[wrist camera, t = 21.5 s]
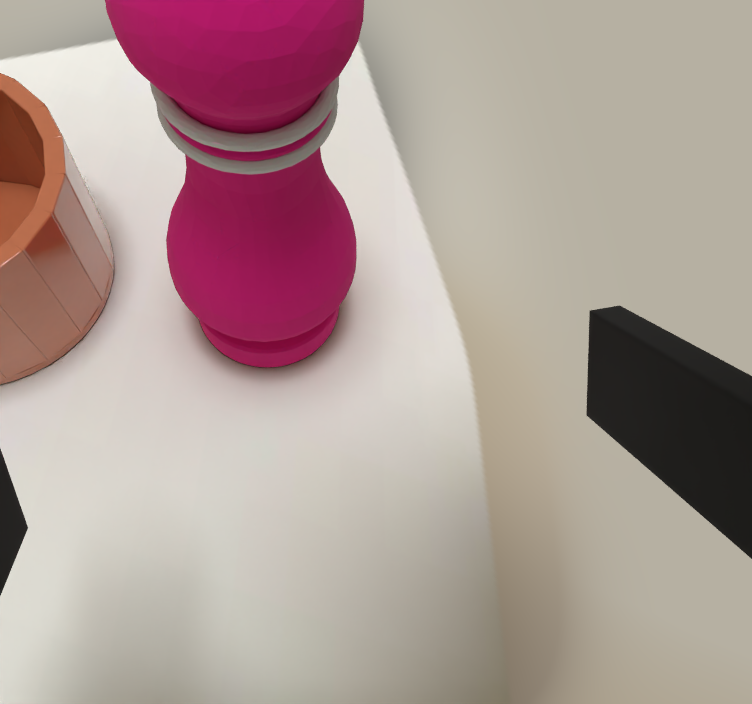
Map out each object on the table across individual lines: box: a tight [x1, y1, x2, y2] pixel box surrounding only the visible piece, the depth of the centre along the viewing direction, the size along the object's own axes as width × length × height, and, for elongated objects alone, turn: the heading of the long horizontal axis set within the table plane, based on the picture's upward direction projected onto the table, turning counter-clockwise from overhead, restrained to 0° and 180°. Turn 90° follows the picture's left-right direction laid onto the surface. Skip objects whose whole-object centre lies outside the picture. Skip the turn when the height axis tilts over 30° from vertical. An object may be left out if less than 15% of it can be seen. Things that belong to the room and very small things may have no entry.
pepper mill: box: [105, 0, 364, 367], centre depth 21 cm, size 7×7×20 cm
